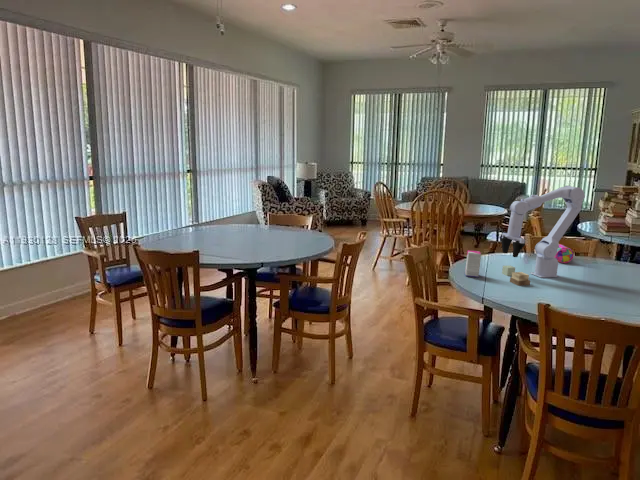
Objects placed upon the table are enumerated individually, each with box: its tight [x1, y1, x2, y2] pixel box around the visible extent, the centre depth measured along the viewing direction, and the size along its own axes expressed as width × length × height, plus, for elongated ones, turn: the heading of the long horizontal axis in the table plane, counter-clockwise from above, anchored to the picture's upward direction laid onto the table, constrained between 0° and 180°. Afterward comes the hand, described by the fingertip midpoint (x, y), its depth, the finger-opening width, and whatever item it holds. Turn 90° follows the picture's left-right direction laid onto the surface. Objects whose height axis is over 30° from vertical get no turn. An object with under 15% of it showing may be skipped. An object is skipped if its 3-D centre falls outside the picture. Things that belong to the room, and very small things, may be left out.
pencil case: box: [555, 243, 574, 264], centre depth 270 cm, size 22×9×9 cm, turn 176°
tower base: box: [509, 276, 531, 287], centre depth 221 cm, size 6×6×2 cm
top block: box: [501, 265, 516, 277], centre depth 235 cm, size 4×4×4 cm
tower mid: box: [511, 271, 530, 281], centre depth 220 cm, size 5×5×2 cm
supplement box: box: [464, 250, 482, 279], centre depth 230 cm, size 6×6×12 cm
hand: (509, 255), depth 233 cm, fingers open, 7 cm apart
